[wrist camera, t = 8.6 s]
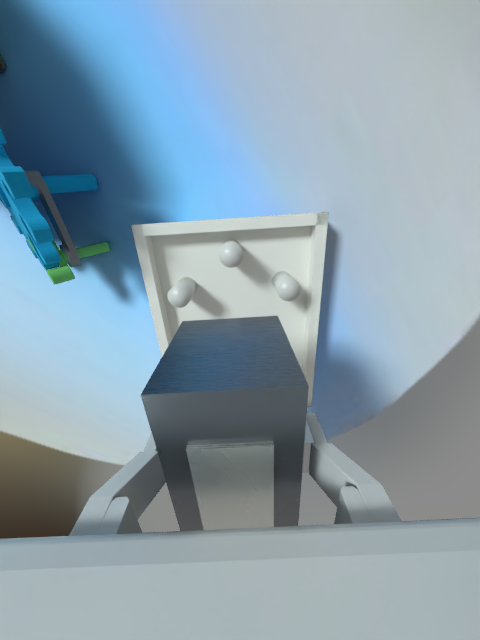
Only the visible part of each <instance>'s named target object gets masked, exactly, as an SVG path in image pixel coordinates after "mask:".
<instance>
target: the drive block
mask: <svg viewBox="0 0 480 640" xmlns="http://www.w3.org/2000/svg"><path fill="white" fill-rule="evenodd" d="M308 389H309V385H308V383H307V381H306V379H305V376H304V374H303V372H302V369H301V367H300V365H299V363H298V360H297V358H296V356H295V354H294V351H293V349H292V347H291V345H290V342H289V340H288V338H287V335H286V333H285V331H284V329H283V326H282V324H281V322H280V320H279V317H278V316H263V317H245V318H228V319H211V320H193V321H182V323H181V325H180V326H179V328H178V330H177V332H176V334H175V335H174V337H173V339H172V341H171V342H170V344H169V346H168V348H167V349H166V351H165V353H164V355H163V357H162V358H161V360H160V362H159V364H158V365H157V367H156V369H155V371H154V372H153V374H152V376H151V378H150V380H149V381H148V383H147V385H146V387H145V388H144V390H143V392H142V394H141V397H142V401H143V404H144V407H145V411H146V414H147V418H148V421H149V425H150V428H151V431H152V435H153V438H154V442H155V445H156V449H157V452H158V455H159V459H160V462H161V466H162V469H163V472H164V476H165V479H166V483H167V486H168V489H169V493H170V496H171V500H172V503H173V507H174V510H175V513H176V517H177V520H178V524H179V527H180V531H195V530H217V529H239V528H261V527H284V526H298V519H299V506H300V493H301V480H302V467H303V454H304V441H305V428H306V415H307V402H308Z"/></svg>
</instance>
